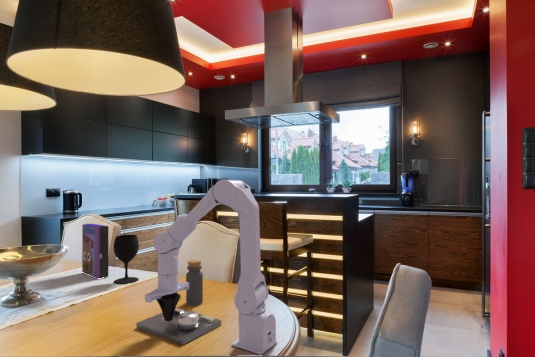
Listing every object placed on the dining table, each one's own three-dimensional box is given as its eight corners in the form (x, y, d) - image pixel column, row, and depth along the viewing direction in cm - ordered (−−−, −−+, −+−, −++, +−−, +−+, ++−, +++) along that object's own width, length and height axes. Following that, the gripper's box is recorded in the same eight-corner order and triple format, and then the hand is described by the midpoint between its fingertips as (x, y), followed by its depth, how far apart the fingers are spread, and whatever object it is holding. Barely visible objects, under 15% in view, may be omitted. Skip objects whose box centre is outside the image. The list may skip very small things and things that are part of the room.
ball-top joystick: (203, 324, 97) (203, 311, 97) (187, 331, 92) (187, 318, 92) (174, 315, 104) (173, 303, 104) (158, 321, 99) (158, 309, 99)
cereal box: (82, 273, 164) (82, 224, 165) (92, 271, 168) (92, 223, 168) (97, 279, 153) (98, 226, 153) (108, 277, 156) (108, 225, 157)
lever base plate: (221, 325, 101) (221, 316, 101) (182, 345, 88) (182, 335, 88) (175, 311, 112) (175, 304, 112) (136, 328, 99) (136, 319, 99)
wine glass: (136, 276, 157) (136, 233, 157) (140, 281, 148) (140, 236, 148) (112, 280, 151) (112, 235, 152) (115, 285, 143) (115, 238, 143)
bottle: (195, 299, 124) (195, 258, 125) (206, 302, 121) (206, 260, 121) (182, 303, 120) (182, 261, 120) (193, 307, 116) (193, 263, 117)
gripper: (178, 266, 106) (178, 309, 106) (138, 276, 94) (138, 325, 94) (193, 269, 102) (194, 314, 102) (154, 280, 90) (154, 331, 90)
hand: (168, 320), depth 97 cm, fingers closed
